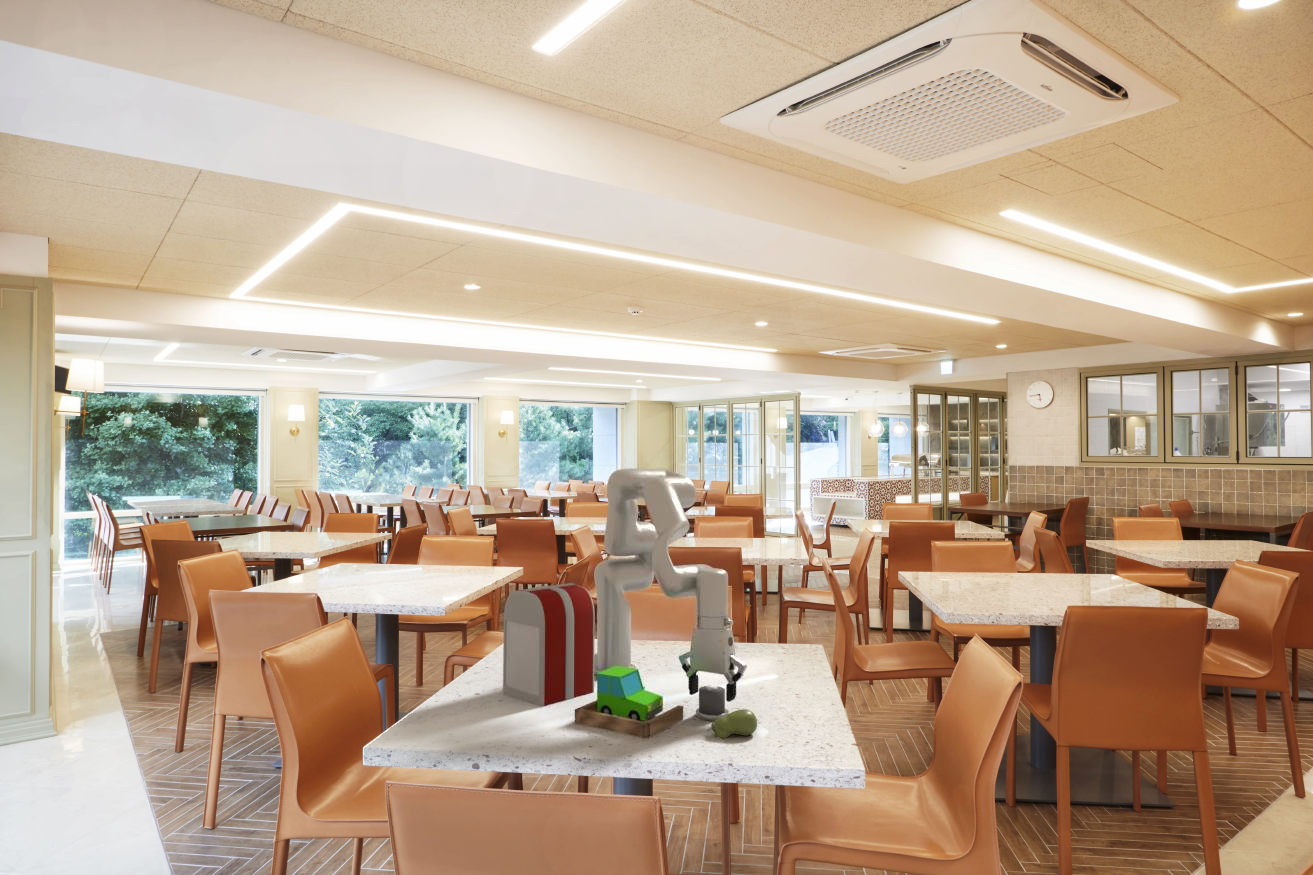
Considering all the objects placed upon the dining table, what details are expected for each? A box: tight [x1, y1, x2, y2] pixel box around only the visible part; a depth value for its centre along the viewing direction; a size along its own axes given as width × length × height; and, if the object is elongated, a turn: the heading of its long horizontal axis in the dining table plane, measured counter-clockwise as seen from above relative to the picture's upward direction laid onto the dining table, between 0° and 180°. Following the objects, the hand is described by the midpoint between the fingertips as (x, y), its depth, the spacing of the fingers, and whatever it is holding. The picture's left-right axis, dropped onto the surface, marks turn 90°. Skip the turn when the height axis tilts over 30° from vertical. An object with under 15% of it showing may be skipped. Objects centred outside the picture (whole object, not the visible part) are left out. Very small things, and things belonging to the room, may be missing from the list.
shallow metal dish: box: [695, 707, 730, 722], centre depth 178 cm, size 8×8×1 cm
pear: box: [710, 708, 758, 740], centre depth 165 cm, size 6×5×10 cm
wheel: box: [698, 684, 726, 715], centre depth 178 cm, size 6×6×6 cm
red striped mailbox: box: [502, 582, 596, 708], centre depth 197 cm, size 16×18×27 cm
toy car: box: [596, 666, 664, 722], centre depth 178 cm, size 10×13×10 cm
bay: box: [574, 699, 684, 740], centre depth 174 cm, size 19×15×3 cm
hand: (712, 696), depth 178 cm, fingers open, 9 cm apart
